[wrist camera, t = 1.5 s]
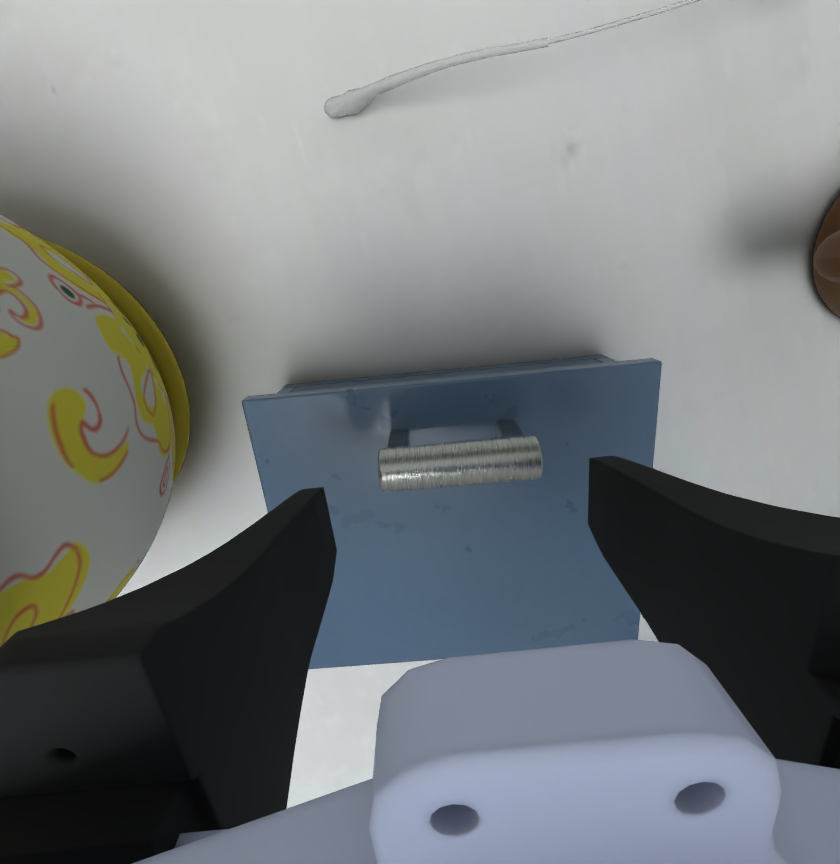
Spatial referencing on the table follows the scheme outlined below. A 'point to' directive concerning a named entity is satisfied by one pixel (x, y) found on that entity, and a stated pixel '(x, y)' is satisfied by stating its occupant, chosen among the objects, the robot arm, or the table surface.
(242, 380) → the table surface
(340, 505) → the lid
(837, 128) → the table surface
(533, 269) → the table surface
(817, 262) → the mug
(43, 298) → the flowerpot
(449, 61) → the eyeglasses
